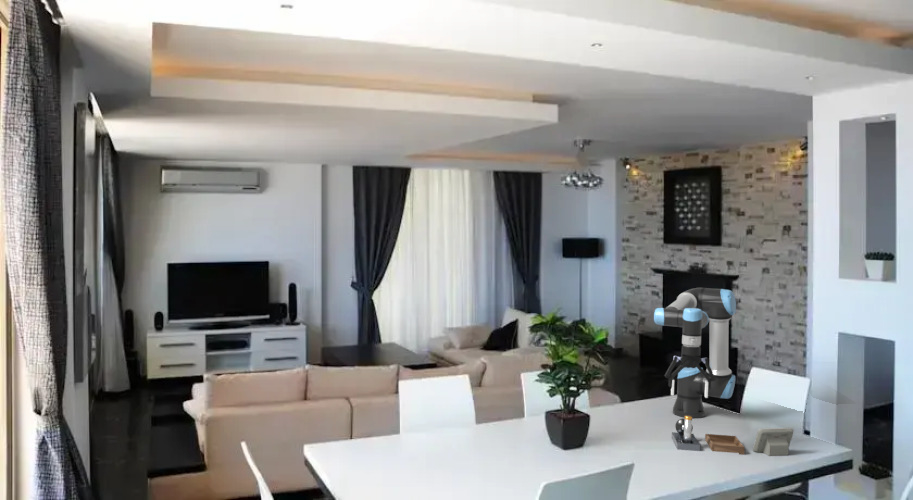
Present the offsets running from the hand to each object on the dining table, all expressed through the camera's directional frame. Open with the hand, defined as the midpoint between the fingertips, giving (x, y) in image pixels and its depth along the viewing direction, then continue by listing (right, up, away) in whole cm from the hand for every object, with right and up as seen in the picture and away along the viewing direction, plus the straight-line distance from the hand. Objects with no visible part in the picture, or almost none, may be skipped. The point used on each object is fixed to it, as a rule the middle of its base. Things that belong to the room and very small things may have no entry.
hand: (689, 396), depth 298 cm
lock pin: (0, -22, +1) cm, 22 cm away
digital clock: (+35, -24, -1) cm, 42 cm away
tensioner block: (0, -22, +6) cm, 23 cm away
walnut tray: (+16, -23, +4) cm, 28 cm away
